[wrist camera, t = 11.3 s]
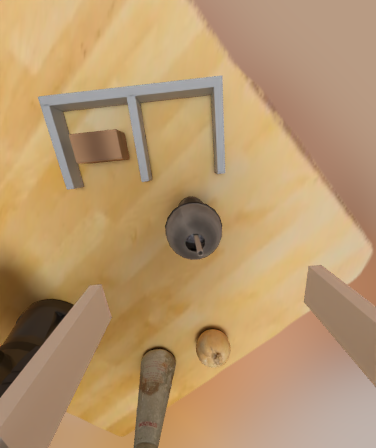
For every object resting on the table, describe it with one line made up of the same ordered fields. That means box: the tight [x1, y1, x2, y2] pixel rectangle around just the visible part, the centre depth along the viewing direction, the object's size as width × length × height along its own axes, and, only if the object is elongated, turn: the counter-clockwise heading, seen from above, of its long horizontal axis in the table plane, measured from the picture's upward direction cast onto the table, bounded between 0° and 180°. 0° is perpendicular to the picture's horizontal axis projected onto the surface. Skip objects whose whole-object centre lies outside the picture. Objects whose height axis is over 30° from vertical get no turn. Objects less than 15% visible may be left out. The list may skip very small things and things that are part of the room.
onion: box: [196, 329, 230, 367], centre depth 41 cm, size 8×8×7 cm
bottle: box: [134, 349, 176, 448], centre depth 33 cm, size 9×9×28 cm
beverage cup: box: [165, 197, 222, 259], centre depth 24 cm, size 7×7×20 cm
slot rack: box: [38, 76, 225, 189], centre depth 28 cm, size 26×13×3 cm, turn 96°
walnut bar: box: [69, 129, 129, 163], centre depth 28 cm, size 7×4×4 cm, turn 96°
